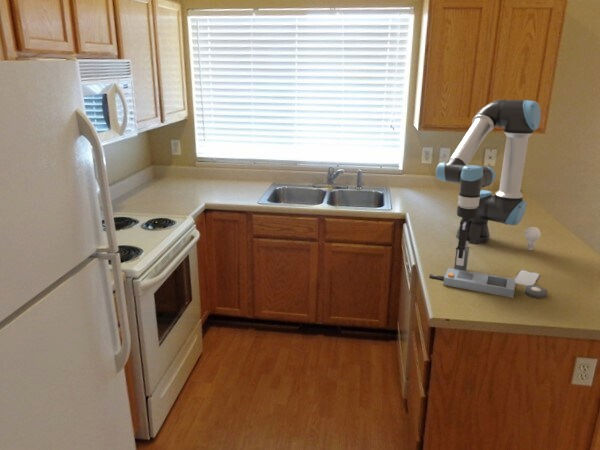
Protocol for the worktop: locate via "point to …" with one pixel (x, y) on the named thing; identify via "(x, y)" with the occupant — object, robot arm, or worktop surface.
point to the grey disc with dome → (535, 291)
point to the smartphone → (526, 278)
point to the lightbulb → (532, 237)
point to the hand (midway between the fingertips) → (461, 260)
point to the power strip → (478, 282)
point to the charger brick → (464, 260)
